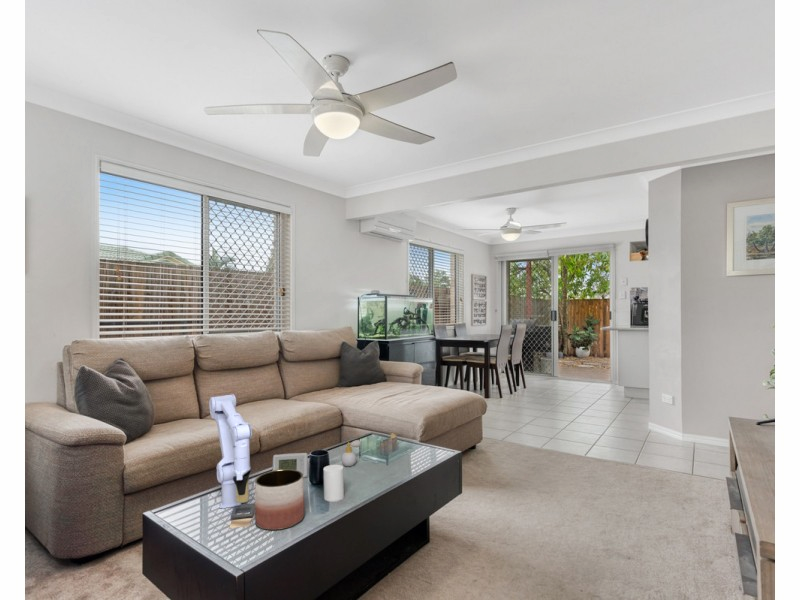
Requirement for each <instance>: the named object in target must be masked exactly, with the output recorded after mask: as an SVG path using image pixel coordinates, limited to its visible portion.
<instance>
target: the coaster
mask: <svg viewBox="0 0 800 600" xmlns="http://www.w3.org/2000/svg"><path fill="white" fill-rule="evenodd" d="M251 523H252V518H247V519H239V520H232V521H231V520H230V524H229V529H236V528H244V527H251Z"/></svg>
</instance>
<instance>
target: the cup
mask: <svg viewBox="0 0 800 600" xmlns="http://www.w3.org/2000/svg"><path fill="white" fill-rule="evenodd" d="M344 498H345V486H344V466H343V465H341V464H330V465H326V466H324V467H323V499H324V501H327V502H339V501H342V500H343V499H344Z"/></svg>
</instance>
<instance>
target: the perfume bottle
mask: <svg viewBox="0 0 800 600" xmlns="http://www.w3.org/2000/svg"><path fill="white" fill-rule="evenodd" d="M346 445H347V446H346V447H345V452H343V454H342V455H341V463H342V466H343V465H344V466H346V467H347V468H348V467H353V466H354V465H355V463H356V462H357V455H356V453H355V452H354V451H353V450H352V447H353V448H359V447H361V445H362V441H361V440H360V439H355V440H353V441H352V442H351V443H350V441H348V442H347V444H346Z"/></svg>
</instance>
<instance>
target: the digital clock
mask: <svg viewBox="0 0 800 600" xmlns="http://www.w3.org/2000/svg"><path fill="white" fill-rule="evenodd" d="M308 459H309V458H308V453H307V452H295V453H294V452H293V453H282V454H274V455H273V456H272V470H271V471H274V470H282V469H292V470H297V471H300V472H302V473H303V479H305V478H307V477H308V467H309V466H308V462H309V461H308Z"/></svg>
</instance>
